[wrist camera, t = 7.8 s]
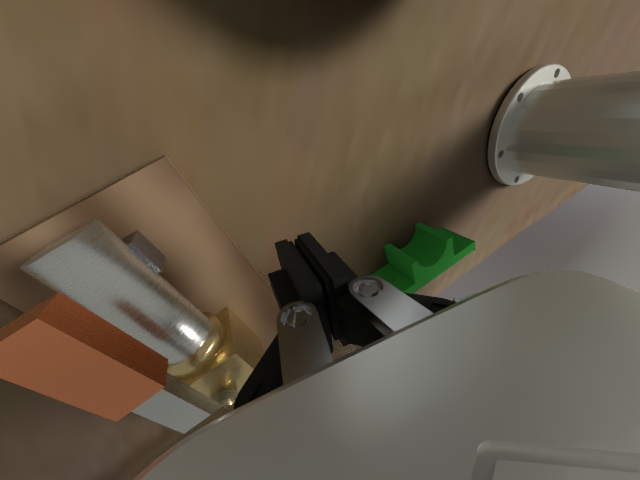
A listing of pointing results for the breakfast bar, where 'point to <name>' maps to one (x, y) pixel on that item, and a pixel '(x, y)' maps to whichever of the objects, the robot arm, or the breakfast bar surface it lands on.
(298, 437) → the robot arm
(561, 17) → the breakfast bar surface
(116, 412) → the valve lever
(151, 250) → the valve and pipe
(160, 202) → the valve stand
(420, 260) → the pipe clamp
